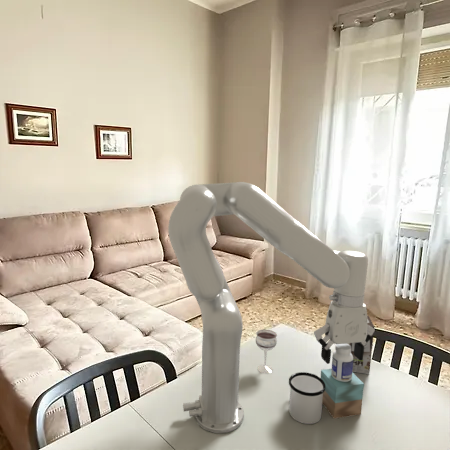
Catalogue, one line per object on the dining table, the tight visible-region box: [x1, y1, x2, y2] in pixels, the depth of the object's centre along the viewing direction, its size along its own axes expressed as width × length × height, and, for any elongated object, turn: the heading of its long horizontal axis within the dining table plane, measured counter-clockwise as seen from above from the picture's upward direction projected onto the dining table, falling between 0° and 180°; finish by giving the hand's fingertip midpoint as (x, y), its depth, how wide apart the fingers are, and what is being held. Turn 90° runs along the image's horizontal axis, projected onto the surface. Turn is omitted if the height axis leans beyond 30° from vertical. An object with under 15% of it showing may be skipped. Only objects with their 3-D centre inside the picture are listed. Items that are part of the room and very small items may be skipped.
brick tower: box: [320, 368, 365, 419], centre depth 95 cm, size 8×8×9 cm
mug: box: [288, 371, 326, 425], centre depth 93 cm, size 12×10×9 cm
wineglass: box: [255, 329, 278, 374], centre depth 112 cm, size 7×7×12 cm
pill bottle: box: [331, 344, 353, 382], centre depth 93 cm, size 5×5×9 cm
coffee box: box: [347, 315, 375, 375], centre depth 115 cm, size 9×6×16 cm
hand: (341, 359), depth 93 cm, fingers open, 9 cm apart
